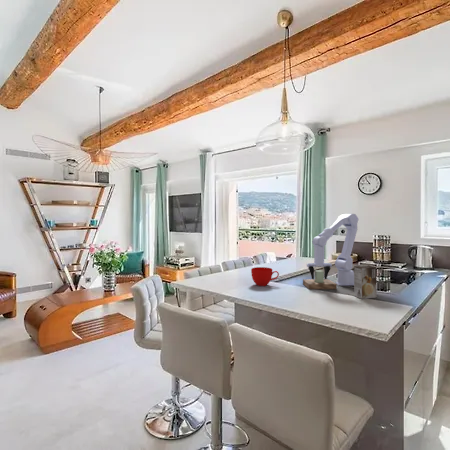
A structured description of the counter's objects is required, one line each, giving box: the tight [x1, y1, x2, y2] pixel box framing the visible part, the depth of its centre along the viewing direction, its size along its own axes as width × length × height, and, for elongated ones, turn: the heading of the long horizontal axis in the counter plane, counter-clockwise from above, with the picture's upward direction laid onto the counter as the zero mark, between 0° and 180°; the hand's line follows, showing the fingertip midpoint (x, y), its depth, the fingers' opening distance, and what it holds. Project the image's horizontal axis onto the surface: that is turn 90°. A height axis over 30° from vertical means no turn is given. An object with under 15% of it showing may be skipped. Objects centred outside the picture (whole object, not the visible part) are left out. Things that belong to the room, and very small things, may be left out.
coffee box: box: [353, 265, 377, 300], centre depth 164 cm, size 9×6×16 cm
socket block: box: [302, 278, 338, 290], centre depth 188 cm, size 16×14×3 cm
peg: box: [314, 270, 324, 283], centre depth 188 cm, size 4×4×9 cm
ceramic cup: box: [250, 266, 280, 287], centre depth 193 cm, size 13×17×10 cm
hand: (319, 278), depth 188 cm, fingers open, 7 cm apart
